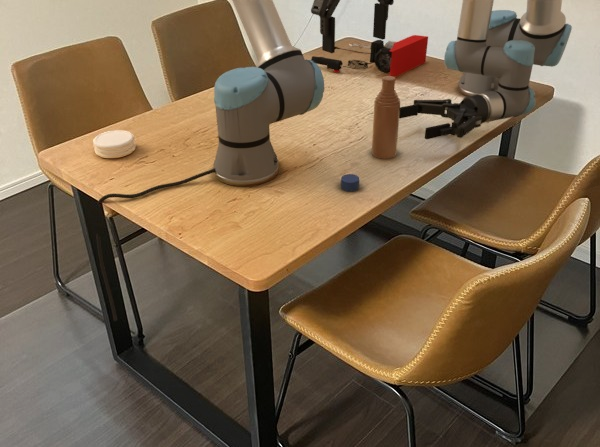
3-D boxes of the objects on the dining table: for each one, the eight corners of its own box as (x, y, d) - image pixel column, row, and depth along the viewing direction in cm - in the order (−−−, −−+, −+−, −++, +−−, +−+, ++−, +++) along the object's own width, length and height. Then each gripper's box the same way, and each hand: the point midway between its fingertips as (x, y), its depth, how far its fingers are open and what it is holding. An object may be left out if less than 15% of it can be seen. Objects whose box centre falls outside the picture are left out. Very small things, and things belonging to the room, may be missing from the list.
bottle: (367, 150, 155) (371, 75, 144) (389, 146, 156) (394, 72, 146) (378, 160, 150) (382, 83, 139) (400, 156, 151) (406, 80, 141)
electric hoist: (310, 36, 203) (391, 51, 188) (352, 23, 222) (429, 35, 207) (309, 67, 208) (388, 83, 193) (351, 51, 227) (425, 65, 212)
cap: (345, 193, 136) (346, 184, 135) (337, 184, 140) (337, 176, 138) (362, 189, 138) (362, 180, 137) (353, 181, 141) (354, 172, 140)
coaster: (106, 163, 150) (103, 149, 148) (88, 149, 156) (85, 137, 155) (143, 150, 156) (141, 137, 154) (124, 138, 162) (122, 126, 160)
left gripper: (318, -66, 101) (318, 62, 113) (421, -80, 114) (412, 36, 126) (290, -70, 106) (292, 52, 118) (392, -83, 119) (385, 29, 131)
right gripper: (510, 140, 152) (438, 157, 145) (449, 106, 171) (383, 119, 164) (516, 111, 148) (441, 127, 141) (453, 80, 167) (384, 92, 160)
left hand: (354, 44), depth 122 cm, fingers open, 13 cm apart
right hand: (410, 123), depth 152 cm, fingers open, 13 cm apart
